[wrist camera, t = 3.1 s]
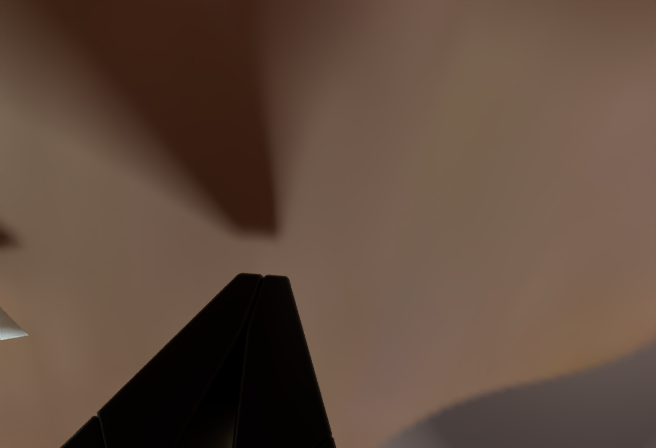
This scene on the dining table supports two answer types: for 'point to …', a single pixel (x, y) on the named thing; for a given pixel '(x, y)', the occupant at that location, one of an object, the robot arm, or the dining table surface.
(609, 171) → the dining table surface
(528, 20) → the dining table surface
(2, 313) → the white spiky piece
